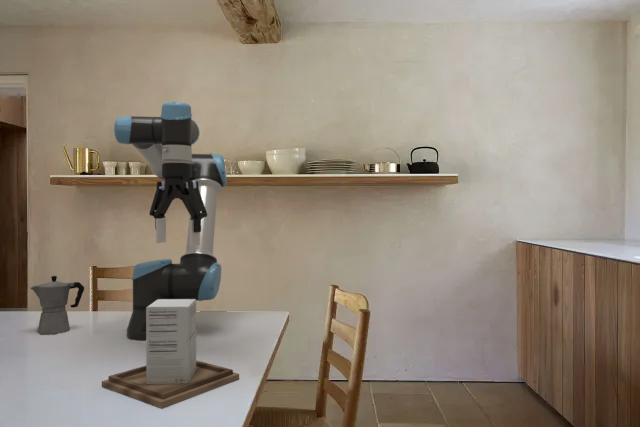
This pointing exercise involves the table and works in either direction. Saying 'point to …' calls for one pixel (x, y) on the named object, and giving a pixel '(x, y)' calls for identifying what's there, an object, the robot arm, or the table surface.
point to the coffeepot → (55, 305)
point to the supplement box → (170, 341)
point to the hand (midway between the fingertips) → (177, 244)
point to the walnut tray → (169, 394)
